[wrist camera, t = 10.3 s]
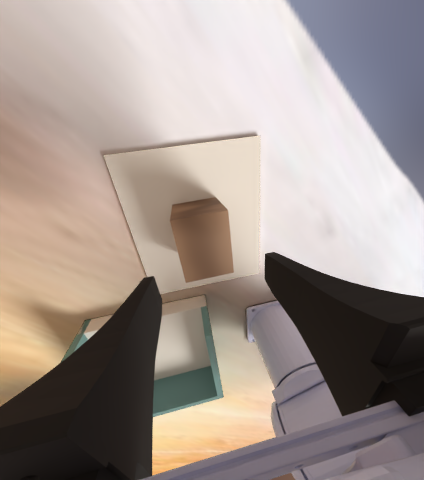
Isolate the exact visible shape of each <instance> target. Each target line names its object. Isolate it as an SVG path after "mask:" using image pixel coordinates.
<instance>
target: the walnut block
mask: <svg viewBox="0 0 424 480" xmlns="http://www.w3.org/2000/svg"><path fill="white" fill-rule="evenodd" d="M170 224H171V227H172V231H173V235H174V239H175V243H176V247H177V251H178V255H179V259H180V262H181V266H182V270H183V274H184V278H185V282H186V283H188V282H193V281H197V280H202V279H207V278H211V277H216V276H220V275H225V274H230V273H234V268H233V257H232V246H231V235H230V225H229V214H228V210H227V208H226V207H225V206H224V205H223V204H222V203H221V202H220V201H219V200H218V199H217V198H216V197H213V198H208V199H202V200H196V201H190V202H185V203H179V204H173V205H172V210H171V216H170Z"/></svg>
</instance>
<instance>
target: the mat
mask: <svg viewBox="0 0 424 480" xmlns="http://www.w3.org/2000/svg"><path fill="white" fill-rule="evenodd" d="M103 156H104V159H105V161H106V164H107V167H108V170H109V173H110V175H111V178H112V181H113V184H114V186H115V189H116V192H117V195H118V198H119V200H120V203H121V206H122V209H123V211H124V214H125V217H126V220H127V222H128V225H129V228H130V231H131V234H132V236H133V239H134V242H135V245H136V247H137V250H138V253H139V256H140V259H141V261H142V264H143V267H144V270H145V272H146V275H147V277H151V276H154V277H155V280H156V283H157V286H158V289H159V292H160V294H164V293H169V292H174V291H179V290H183V289H188V288H193V287H198V286H203V285H207V284H212V283H217V282H222V281H226V280H231V279H236V278H241V277H245V276H250V275H255V274H260V136H252V137H244V138H236V139H228V140H220V141H212V142H204V143H196V144H188V145H181V146H173V147H165V148H157V149H149V150H141V151H133V152H125V153H117V154H109V155H103ZM213 197H216V198H217V199H218V200H219V201H220V202H221V203H222V204H223V205H224V206H225V207H226V208H227V210H228V214H229V225H230V235H231V246H232V257H233V268H234V273H230V274H225V275H220V276H216V277H211V278H207V279H202V280H197V281H193V282H188V283H186V282H185V278H184V274H183V270H182V266H181V262H180V259H179V255H178V251H177V247H176V243H175V239H174V235H173V231H172V227H171V224H170V216H171V210H172V205H173V204H179V203H185V202H190V201H196V200H202V199H208V198H213Z"/></svg>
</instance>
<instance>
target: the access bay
mask: <svg viewBox="0 0 424 480" xmlns="http://www.w3.org/2000/svg"><path fill="white" fill-rule="evenodd" d="M112 316H113V315H108V316H104V317H99V318H94V319H90V320H85V321H84V323H83V325H82V326H81V328H80V330H79V332H78V333H77V335H76V337H75V338H74V340H73V342H72V344H71V345H70V347H69V349H68V351H67V352H66V354H65V356H64V357H63V359H62V361H64V360H65V359H66V358H67V357H69V356H70V355H71V354H72V353H73V352H74V351H76V350H77V349H78V348H79V347H80V346H81V345H82V344H84V343H85V342H86V341H87V340H88V339H89V338H90V337H92V336H93V335H94V334H95V333H96V332H97V331H98V330H99V329H100V328H101V327H102V326H103V325H104V324H105V323H106V322H107V321H108V320H109V319H110V318H111V317H112ZM62 361H61V362H62ZM223 397H224V396H223V391H222V385H221V380H220V374H219V369H218V364H217V358H216V353H215V347H214V342H213V336H212V331H211V325H210V320H209V315H208V309H207V304H206V299H205V295H201V296H196V297H192V298H187V299H183V300H178V301H173V302H169V303H164V304H162V319H161V325H160V332H159V339H158V345H157V352H156V360H155V374H154V394H153V417H155V416H158V415H162V414H166V413H169V412H173V411H176V410H180V409H184V408H187V407H191V406H194V405H198V404H201V403H205V402H209V401H212V400H216V399H219V398H223Z"/></svg>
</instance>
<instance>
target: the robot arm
mask: <svg viewBox="0 0 424 480" xmlns="http://www.w3.org/2000/svg"><path fill="white" fill-rule="evenodd" d="M265 280H266V282H267V284H268V286H269V288H270V290H271V292H272V293H273V295H274V296H275V298H276V299H277V300H278V301H273V302H269V303H265V304H260V305H256V306H252V307H248V308H247V309H246V315H247V339H248V342H256V344H257V346H258V349H259V351H260V354H261V356H262V358H263V361H264V363H265V366H266V368H267V370H268V373H269V375H270V378H271V380H272V383H273V385H274V387H275V389H274V390H273V391H272V393H273V395H274V398H275V402H273V403H272V410H271V420H272V425H273V429H274V432H275V435H276V437H275V438H272V439H269V440H265V441H262V442H259V443H256V444H253V445H249V446H246V447H243V448H240V449H237V450H233V451H230V452H227V453H224V454H220V455H217V456H214V457H211V458H208V459H204V460H201V461H198V462H195V463H192V464H188V465H185V466H182V467H179V468H176V469H172V470H169V471H166V472H163V473H160V474H156V475H153V476H152V425H153V394H154V374H155V360H156V352H157V345H158V339H159V332H160V325H161V319H162V298H161V295H160V292H159V289H158V286H157V283H156V280H155V277H154V276H151V277H146V278H143V280H142V281H141V282H140V283H139V285H138V286H137V287H136V288H135V290H134V291H133V292H132V293H131V295H130V296H129V297H128V298H127V300H126V301H125V302H124V303H123V304H122V305H121V307H120V308H119V309H118V310H117V311H116V312H115V313H114V314H113V316H112V317H111V318H110V319H109V320H108V321H107V322H106V323H105V324H104V325H103V326H102V327H101V328H100V329H99V330H98V331H97V332H96V333H95V334H94V335H93V336H92V337H90V338H89V339H88V340H87V341H86V342H85V343H84V344H82V345H81V346H80V347H79V348H78V349H77V350H76V351H74V352H73V353H72V354H71V355H70V356H69V357H67V358H66V359H65V360H64V361H62V362H61V363H60V364H59V365H57V366H56V367H55V368H53V369H52V370H51V371H50V372H48V373H47V374H46V375H44V376H43V377H42V378H40V379H39V380H38V381H36V382H35V383H34V384H32V385H31V386H29V387H28V388H27V389H25V390H24V391H22V392H21V393H19V394H18V395H17V396H15V397H14V398H12V399H11V400H9V401H8V402H7V403H5V404H4V405H2V406H1V407H0V480H270V479H273V478H276V477H279V476H282V475H284V474H287V473H290V472H291V473H292V475H293V477H294V478H295V480H424V297H418V296H411V295H405V294H399V293H394V292H389V291H384V290H379V289H375V288H371V287H367V286H363V285H359V284H355V283H351V282H348V281H345V280H341V279H338V278H335V277H332V276H329V275H326V274H324V273H321V272H319V271H316V270H314V269H311V268H309V267H306V266H304V265H302V264H300V263H297V262H295V261H293V260H291V259H289V258H287V257H284V256H282V255H280V254H278V253H275V252H272V253H267V254H265Z"/></svg>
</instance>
